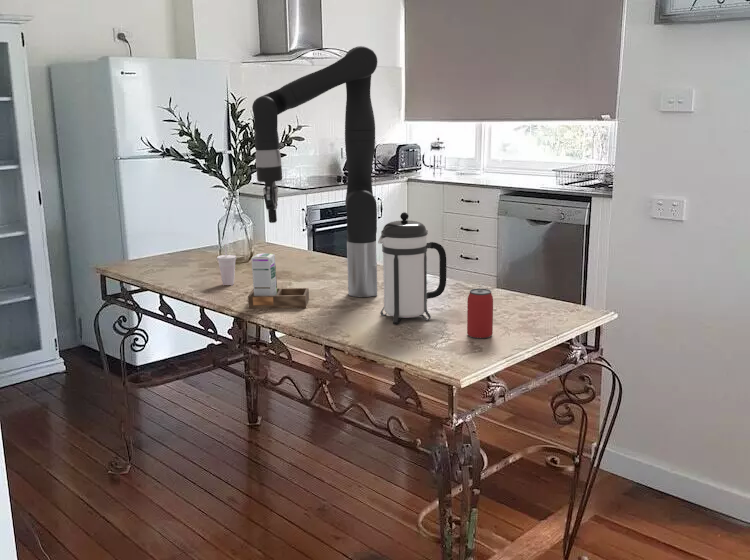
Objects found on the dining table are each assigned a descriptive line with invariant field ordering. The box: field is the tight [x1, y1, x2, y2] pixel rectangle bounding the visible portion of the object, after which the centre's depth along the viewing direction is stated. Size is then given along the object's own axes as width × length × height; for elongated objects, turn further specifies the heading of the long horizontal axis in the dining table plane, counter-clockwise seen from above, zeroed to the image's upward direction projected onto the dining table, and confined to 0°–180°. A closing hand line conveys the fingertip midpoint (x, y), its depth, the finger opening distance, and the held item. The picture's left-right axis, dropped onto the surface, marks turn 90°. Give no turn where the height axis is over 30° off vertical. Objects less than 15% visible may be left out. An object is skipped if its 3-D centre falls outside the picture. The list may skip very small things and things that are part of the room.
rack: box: [247, 287, 310, 310], centre depth 231 cm, size 17×10×4 cm, turn 89°
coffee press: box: [377, 211, 447, 325], centre depth 212 cm, size 17×16×30 cm
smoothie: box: [216, 243, 237, 286], centre depth 255 cm, size 6×6×14 cm
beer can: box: [466, 287, 494, 340], centre depth 196 cm, size 7×7×12 cm
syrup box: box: [250, 252, 278, 296], centre depth 229 cm, size 6×6×14 cm
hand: (273, 222), depth 231 cm, fingers closed
